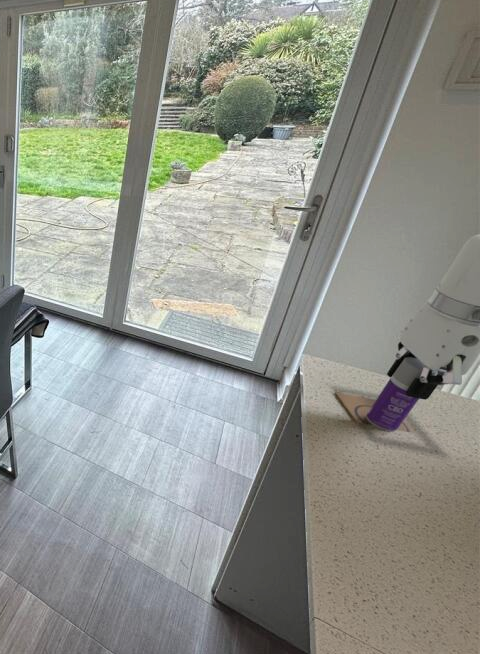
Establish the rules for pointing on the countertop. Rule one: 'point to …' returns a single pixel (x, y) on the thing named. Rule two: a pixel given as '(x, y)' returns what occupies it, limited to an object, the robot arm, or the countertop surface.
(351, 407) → the coaster
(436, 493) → the countertop surface
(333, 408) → the countertop surface
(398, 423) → the container
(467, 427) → the countertop surface
